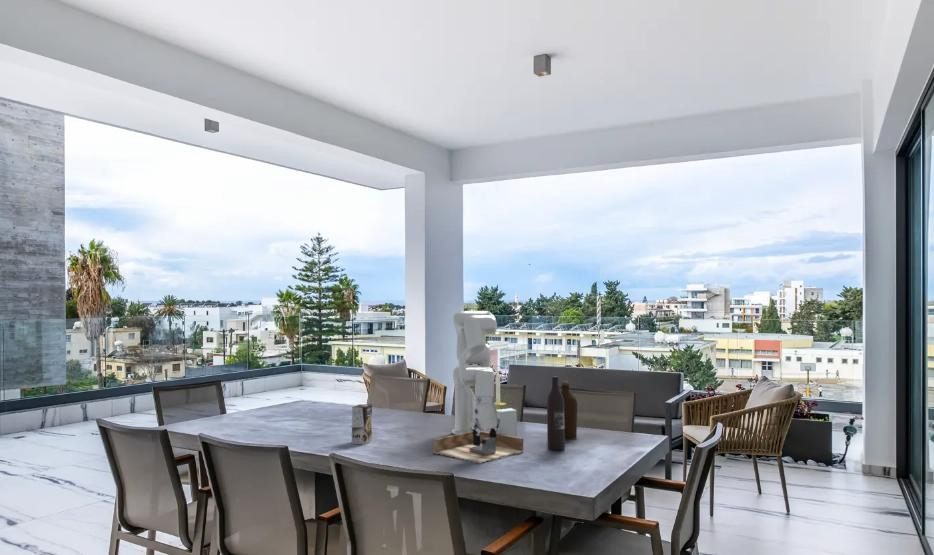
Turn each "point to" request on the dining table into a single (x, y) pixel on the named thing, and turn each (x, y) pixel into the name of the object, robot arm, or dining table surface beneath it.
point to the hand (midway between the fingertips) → (484, 443)
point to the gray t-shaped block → (485, 446)
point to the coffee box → (362, 424)
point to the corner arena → (464, 441)
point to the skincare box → (507, 422)
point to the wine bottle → (555, 418)
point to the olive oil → (569, 411)
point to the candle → (498, 393)
